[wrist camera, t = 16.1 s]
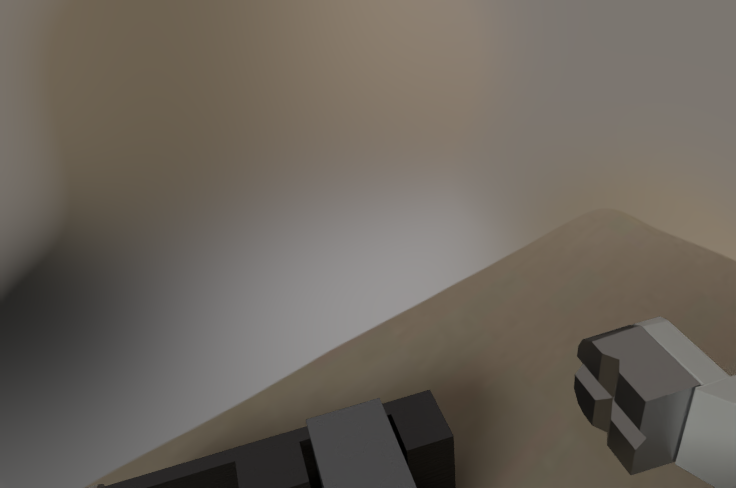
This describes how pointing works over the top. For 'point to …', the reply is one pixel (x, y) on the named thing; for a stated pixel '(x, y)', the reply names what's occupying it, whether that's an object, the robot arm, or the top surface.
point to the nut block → (358, 449)
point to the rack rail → (297, 462)
